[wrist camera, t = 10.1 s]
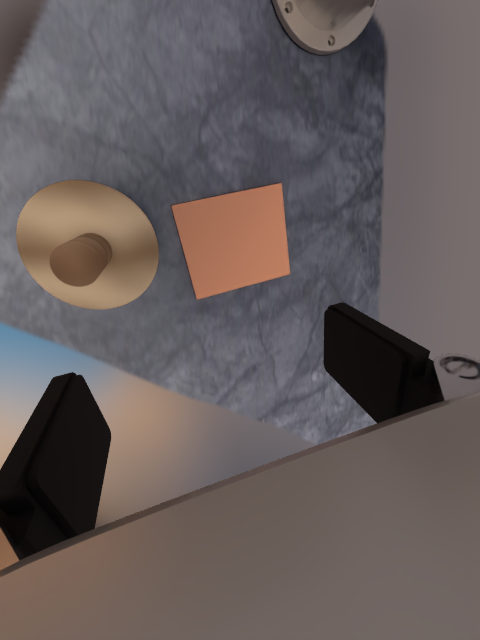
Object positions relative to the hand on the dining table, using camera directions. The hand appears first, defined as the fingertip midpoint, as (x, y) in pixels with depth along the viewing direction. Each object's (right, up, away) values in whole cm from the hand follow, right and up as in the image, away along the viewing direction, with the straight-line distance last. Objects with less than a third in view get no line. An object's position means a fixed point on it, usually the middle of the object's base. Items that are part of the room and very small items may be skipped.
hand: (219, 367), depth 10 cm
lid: (-12, +8, +14) cm, 20 cm away
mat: (0, +12, +25) cm, 28 cm away
